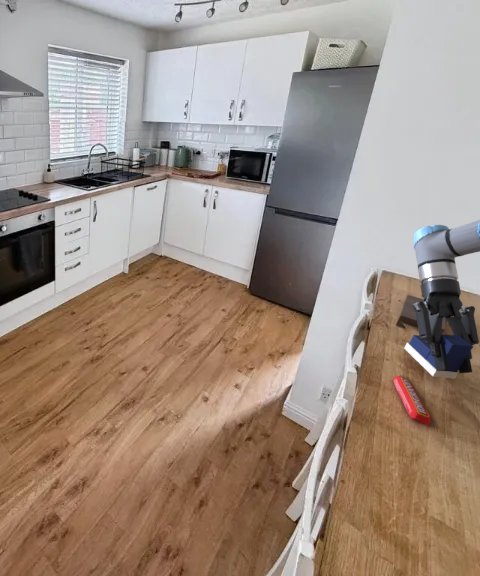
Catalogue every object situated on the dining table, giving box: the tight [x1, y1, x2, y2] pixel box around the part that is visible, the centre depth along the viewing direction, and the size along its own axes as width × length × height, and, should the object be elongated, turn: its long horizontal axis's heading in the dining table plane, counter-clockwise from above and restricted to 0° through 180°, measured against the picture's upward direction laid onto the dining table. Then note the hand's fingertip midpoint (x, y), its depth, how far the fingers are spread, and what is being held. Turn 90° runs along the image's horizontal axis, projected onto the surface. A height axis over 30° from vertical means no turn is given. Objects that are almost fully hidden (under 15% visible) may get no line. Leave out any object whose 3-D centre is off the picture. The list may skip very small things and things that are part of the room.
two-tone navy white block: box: [403, 333, 474, 380], centre depth 96 cm, size 12×5×10 cm, turn 173°
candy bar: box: [392, 375, 432, 427], centre depth 88 cm, size 16×4×3 cm, turn 159°
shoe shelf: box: [395, 294, 447, 334], centre depth 122 cm, size 20×11×4 cm, turn 138°
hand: (454, 371), depth 90 cm, fingers closed on two-tone navy white block, 5 cm apart
